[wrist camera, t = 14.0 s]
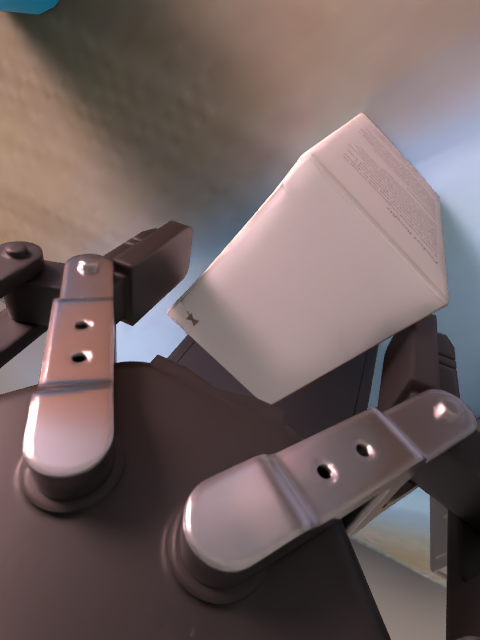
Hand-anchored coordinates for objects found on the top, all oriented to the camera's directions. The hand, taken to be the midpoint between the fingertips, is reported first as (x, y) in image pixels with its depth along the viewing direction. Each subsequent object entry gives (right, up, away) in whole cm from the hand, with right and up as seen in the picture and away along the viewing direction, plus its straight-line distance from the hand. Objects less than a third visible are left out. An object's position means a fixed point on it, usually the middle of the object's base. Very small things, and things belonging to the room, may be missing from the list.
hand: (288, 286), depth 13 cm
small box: (+4, +5, +7) cm, 9 cm away
